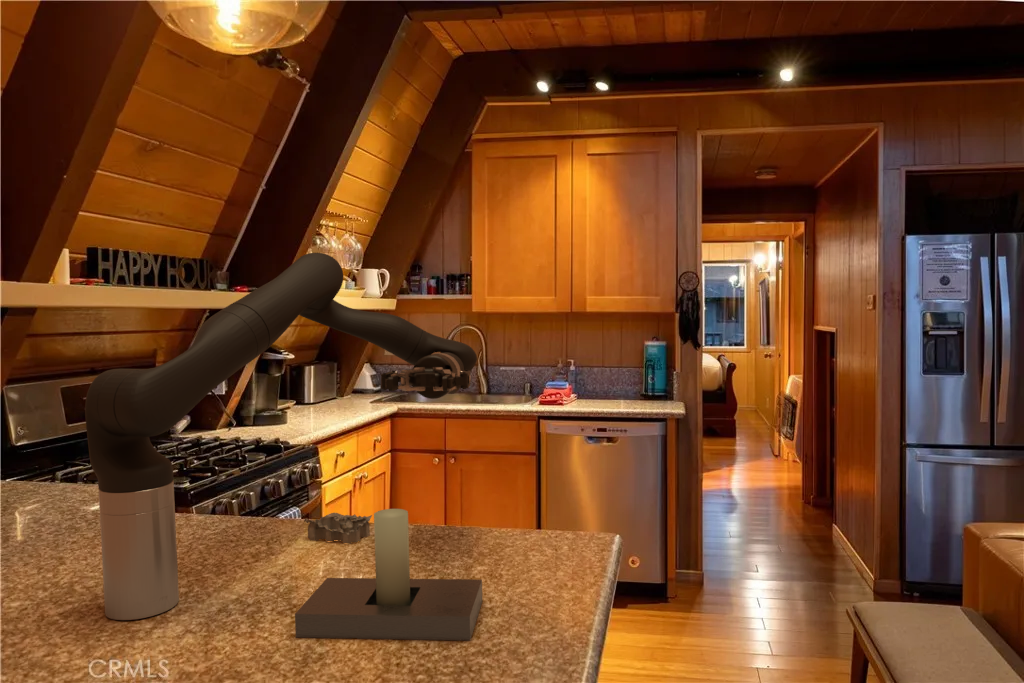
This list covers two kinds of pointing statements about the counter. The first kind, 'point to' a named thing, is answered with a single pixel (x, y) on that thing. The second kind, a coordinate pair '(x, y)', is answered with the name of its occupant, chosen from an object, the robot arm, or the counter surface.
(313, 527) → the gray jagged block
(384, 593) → the peg
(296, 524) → the counter surface
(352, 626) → the brown block with hole
